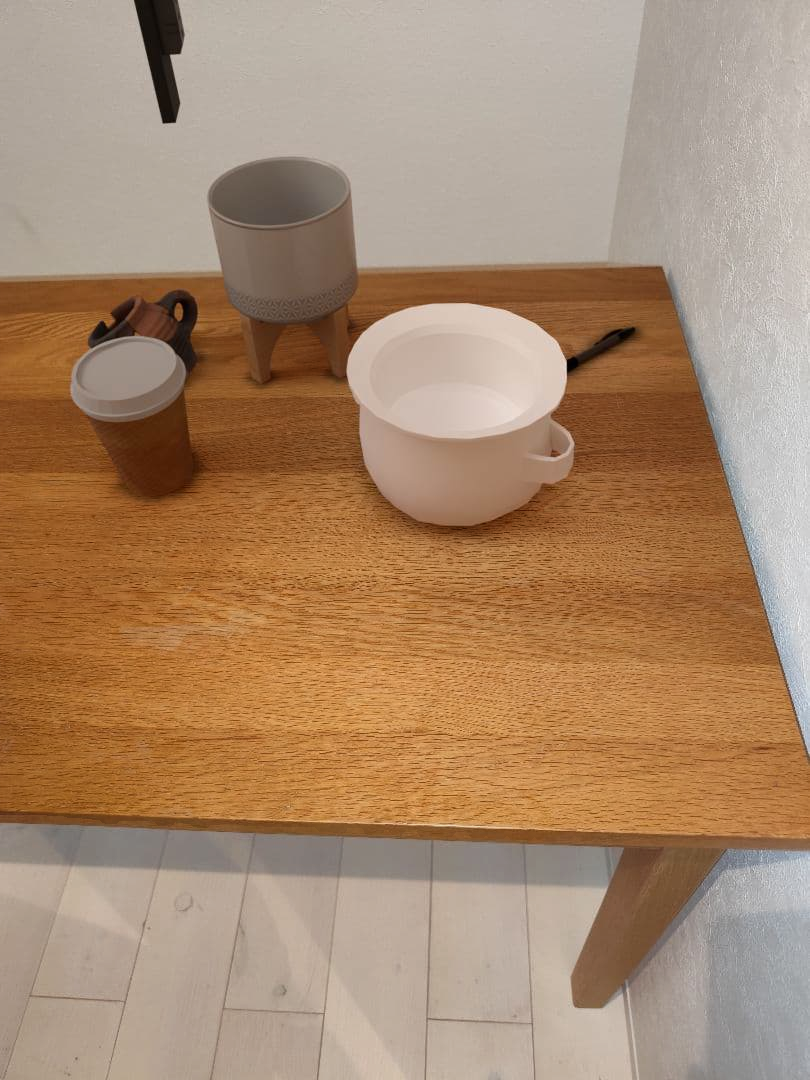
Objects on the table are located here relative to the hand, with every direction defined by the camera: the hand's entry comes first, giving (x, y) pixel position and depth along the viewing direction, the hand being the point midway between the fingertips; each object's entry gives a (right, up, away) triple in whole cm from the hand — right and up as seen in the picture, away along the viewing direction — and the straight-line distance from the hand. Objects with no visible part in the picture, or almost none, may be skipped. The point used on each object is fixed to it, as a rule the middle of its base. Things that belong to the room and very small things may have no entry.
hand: (54, 121), depth 52 cm
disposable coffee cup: (-2, -18, +31) cm, 36 cm away
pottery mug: (-5, -6, +42) cm, 43 cm away
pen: (+39, -6, +40) cm, 56 cm away
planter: (+9, -5, +42) cm, 44 cm away
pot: (+25, -18, +29) cm, 43 cm away
